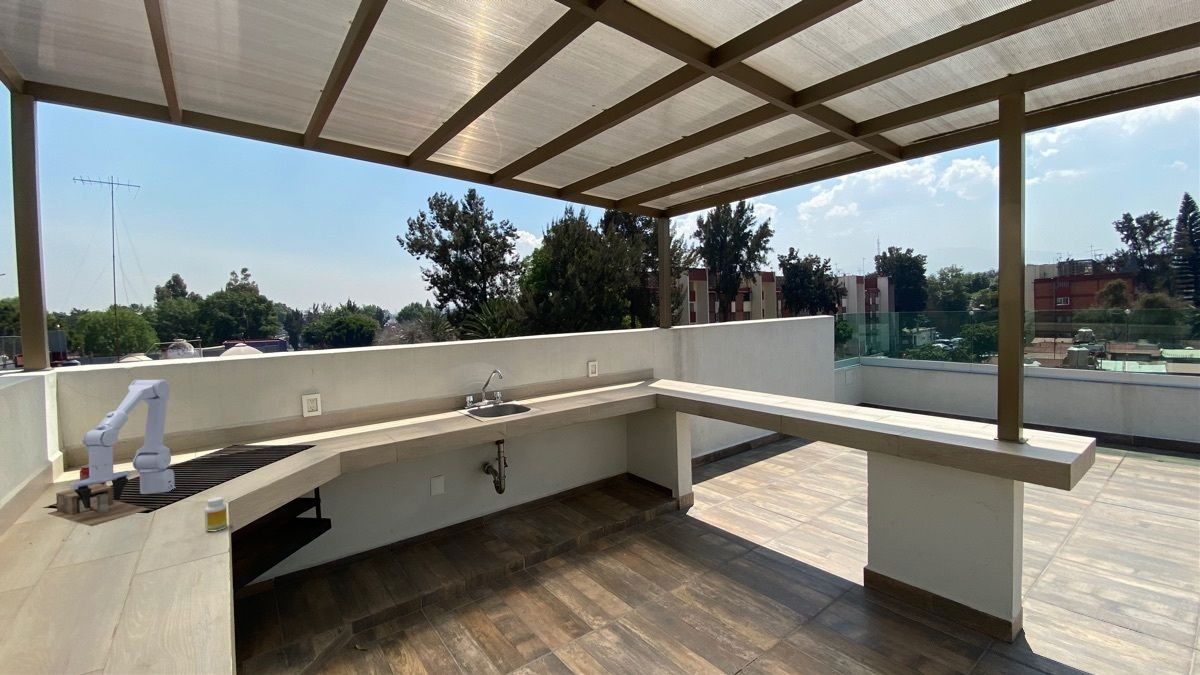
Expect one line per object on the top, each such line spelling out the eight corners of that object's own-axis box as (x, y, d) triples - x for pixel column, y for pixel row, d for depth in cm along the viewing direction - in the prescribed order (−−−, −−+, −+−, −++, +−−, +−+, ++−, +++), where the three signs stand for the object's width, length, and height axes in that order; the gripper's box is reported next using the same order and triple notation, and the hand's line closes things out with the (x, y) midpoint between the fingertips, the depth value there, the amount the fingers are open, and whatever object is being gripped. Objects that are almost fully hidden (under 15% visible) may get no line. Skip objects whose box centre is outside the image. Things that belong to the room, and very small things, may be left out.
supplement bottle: (230, 527, 154) (229, 497, 154) (211, 533, 150) (210, 503, 149) (221, 524, 157) (220, 494, 156) (201, 530, 152) (200, 500, 152)
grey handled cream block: (70, 509, 165) (69, 492, 165) (93, 503, 171) (93, 487, 171) (92, 515, 160) (92, 498, 160) (116, 509, 166) (115, 492, 166)
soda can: (89, 499, 178) (88, 467, 177) (75, 498, 179) (74, 466, 178) (111, 493, 184) (110, 462, 184) (97, 491, 186) (96, 461, 185)
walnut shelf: (46, 516, 163) (45, 495, 162) (105, 500, 177) (104, 481, 176) (91, 529, 152) (91, 506, 152) (150, 511, 166) (149, 491, 166)
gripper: (78, 471, 155) (79, 513, 155) (134, 459, 168) (136, 497, 169) (66, 469, 157) (68, 510, 158) (123, 457, 171) (124, 495, 171)
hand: (102, 503), depth 163 cm, fingers open, 7 cm apart
